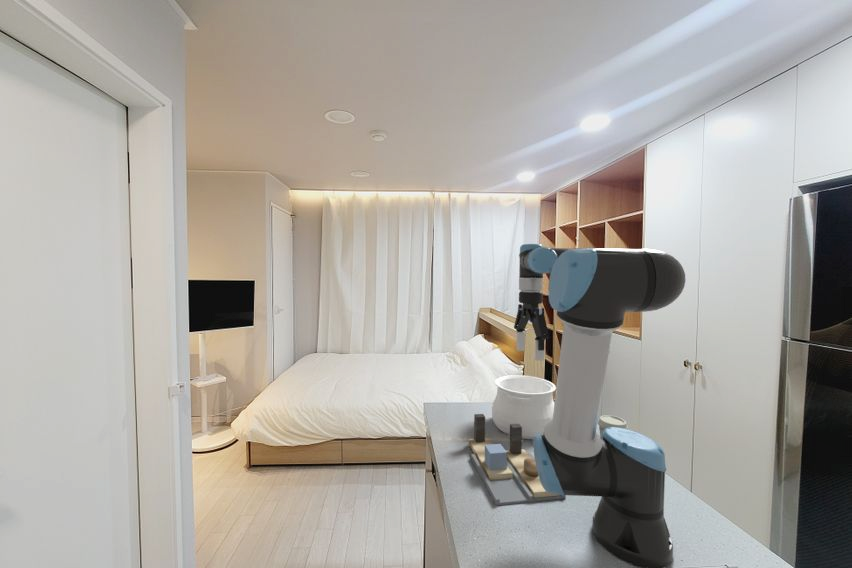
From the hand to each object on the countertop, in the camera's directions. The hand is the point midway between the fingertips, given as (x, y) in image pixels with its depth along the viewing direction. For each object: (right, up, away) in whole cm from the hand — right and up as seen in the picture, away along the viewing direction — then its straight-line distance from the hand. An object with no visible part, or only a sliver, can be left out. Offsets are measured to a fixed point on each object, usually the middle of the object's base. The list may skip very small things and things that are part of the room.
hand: (529, 355), depth 113 cm
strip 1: (-15, -32, -6) cm, 36 cm away
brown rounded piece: (-4, -30, -16) cm, 34 cm away
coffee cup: (+26, -32, -3) cm, 41 cm away
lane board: (-9, -32, -15) cm, 36 cm away
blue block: (-14, -30, -12) cm, 35 cm away
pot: (+3, -32, +18) cm, 36 cm away
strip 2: (-5, -32, -14) cm, 35 cm away
